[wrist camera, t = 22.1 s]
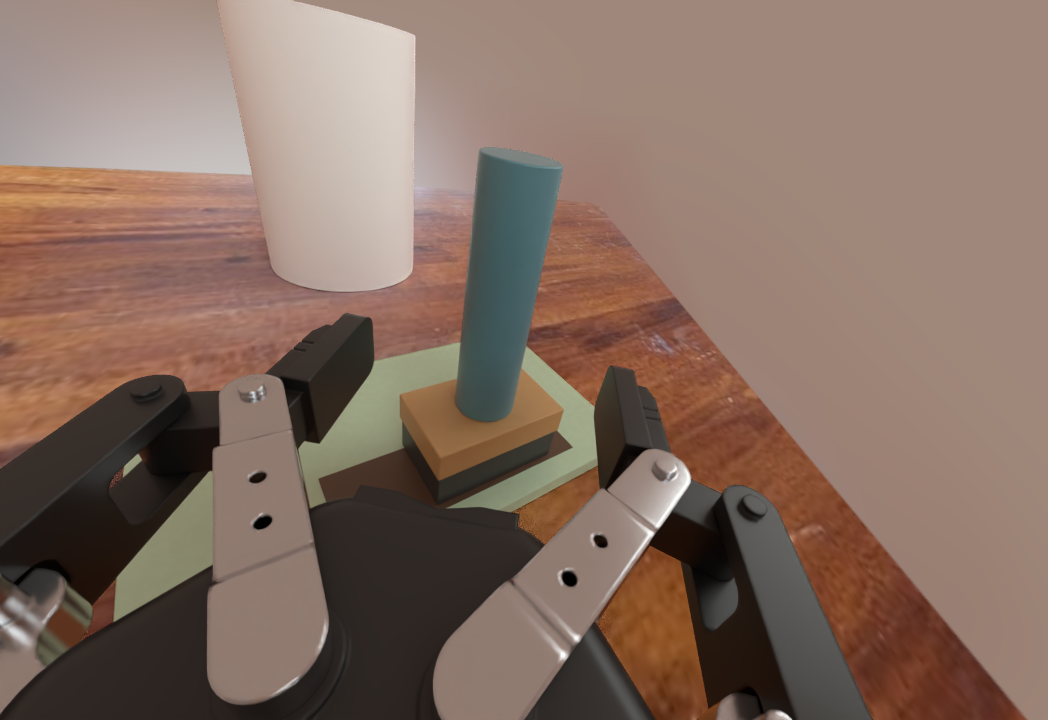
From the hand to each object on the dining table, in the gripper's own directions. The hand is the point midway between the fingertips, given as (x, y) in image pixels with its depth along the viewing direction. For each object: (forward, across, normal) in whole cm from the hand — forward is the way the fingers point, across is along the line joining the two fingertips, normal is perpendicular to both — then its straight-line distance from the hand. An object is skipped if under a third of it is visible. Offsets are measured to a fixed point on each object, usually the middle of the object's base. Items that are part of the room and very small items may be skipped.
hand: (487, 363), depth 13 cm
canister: (+27, +19, +10) cm, 35 cm away
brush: (+4, 0, +9) cm, 10 cm away
